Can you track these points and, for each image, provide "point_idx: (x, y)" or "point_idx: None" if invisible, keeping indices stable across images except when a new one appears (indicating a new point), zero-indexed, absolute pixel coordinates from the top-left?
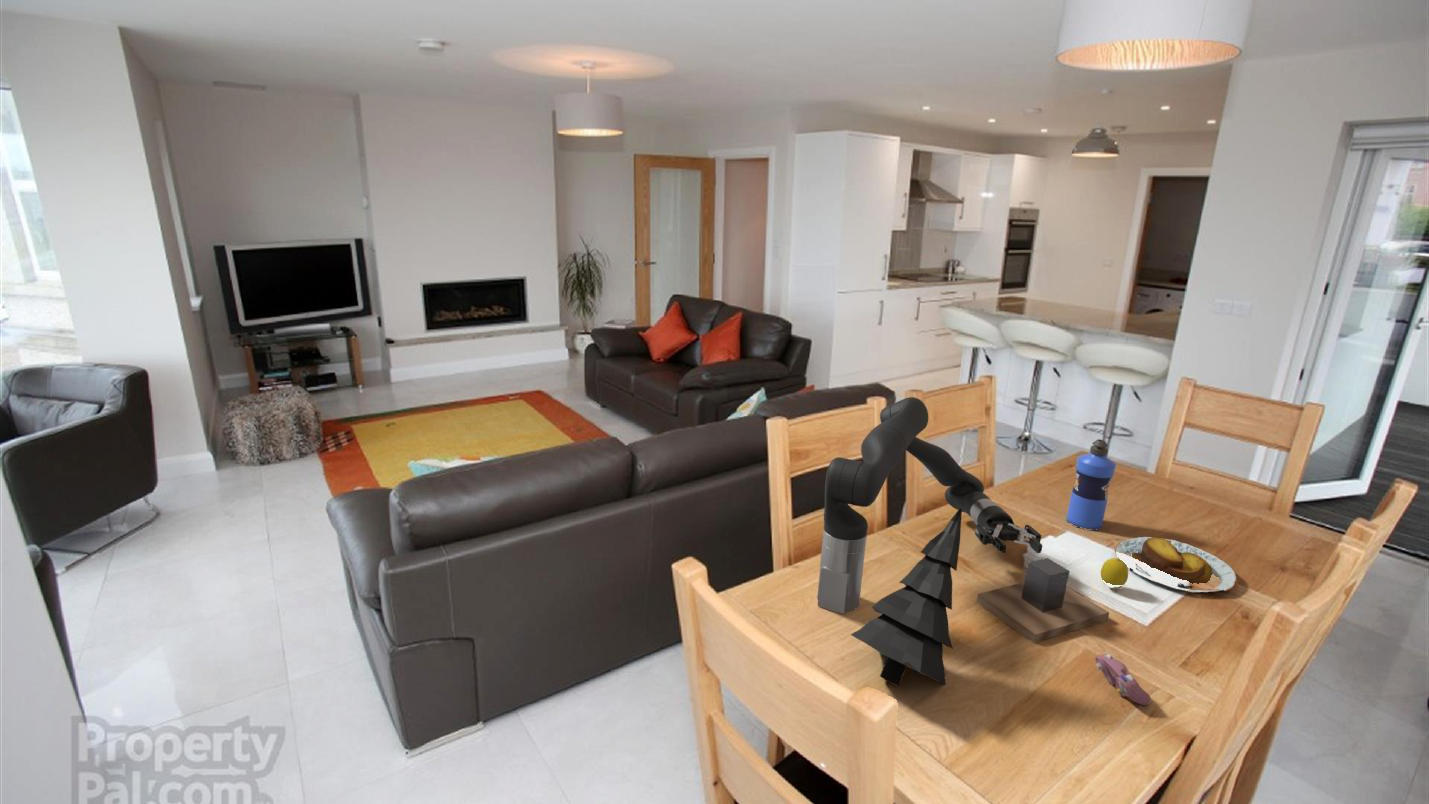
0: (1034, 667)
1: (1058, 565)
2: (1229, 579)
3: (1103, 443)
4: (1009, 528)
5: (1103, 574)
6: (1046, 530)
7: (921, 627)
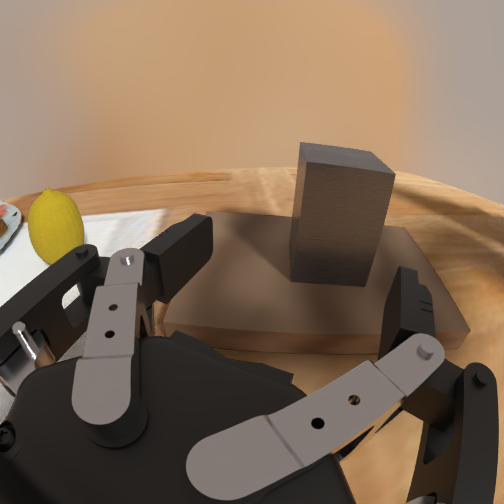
0: (423, 225)
1: (308, 149)
2: None
3: None
4: (145, 403)
5: (73, 236)
6: None
7: None
